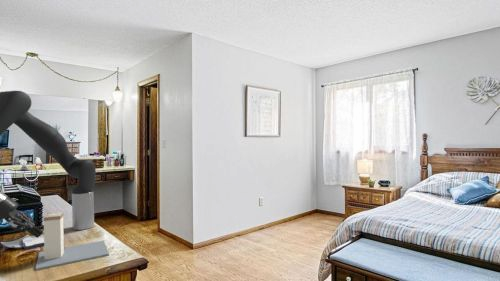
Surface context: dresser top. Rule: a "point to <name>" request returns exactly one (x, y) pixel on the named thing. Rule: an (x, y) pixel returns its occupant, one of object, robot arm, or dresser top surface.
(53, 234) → the cream block
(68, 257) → the rubber mat
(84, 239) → the dresser top surface
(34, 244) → the dark grey smartphone
